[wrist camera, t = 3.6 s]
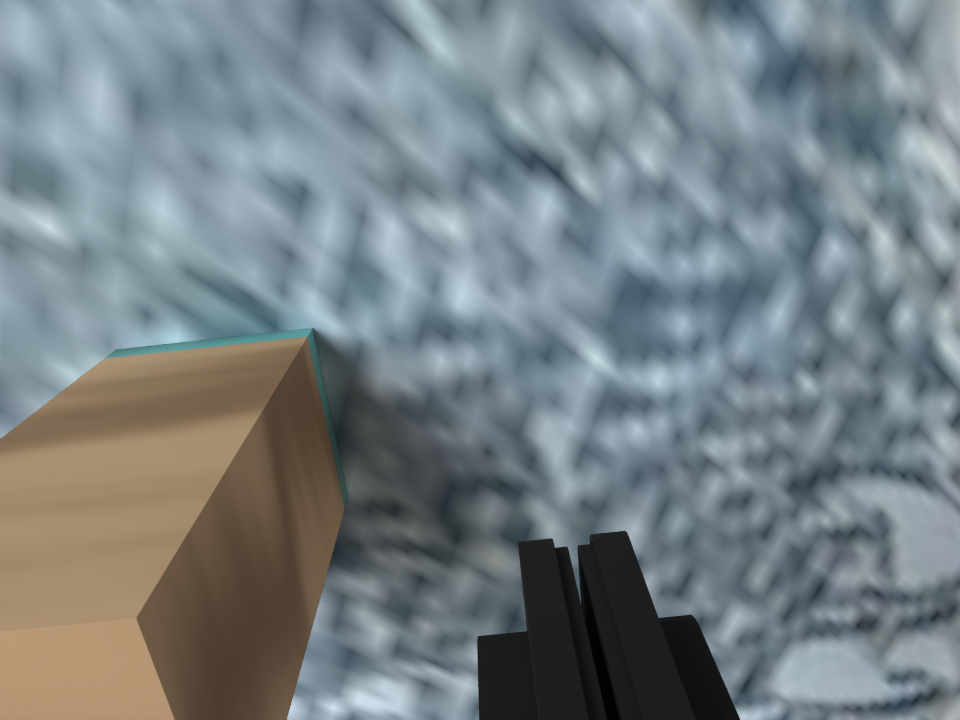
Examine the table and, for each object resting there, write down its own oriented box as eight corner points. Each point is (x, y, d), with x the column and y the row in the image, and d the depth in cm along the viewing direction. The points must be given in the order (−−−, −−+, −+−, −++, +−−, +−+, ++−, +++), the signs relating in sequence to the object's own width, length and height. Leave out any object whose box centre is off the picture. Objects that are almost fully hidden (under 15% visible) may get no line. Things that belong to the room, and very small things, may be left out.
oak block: (116, 349, 17) (-287, 660, 8) (312, 328, 17) (136, 617, 8) (171, 515, 19) (-104, 922, 10) (348, 496, 19) (240, 890, 10)
